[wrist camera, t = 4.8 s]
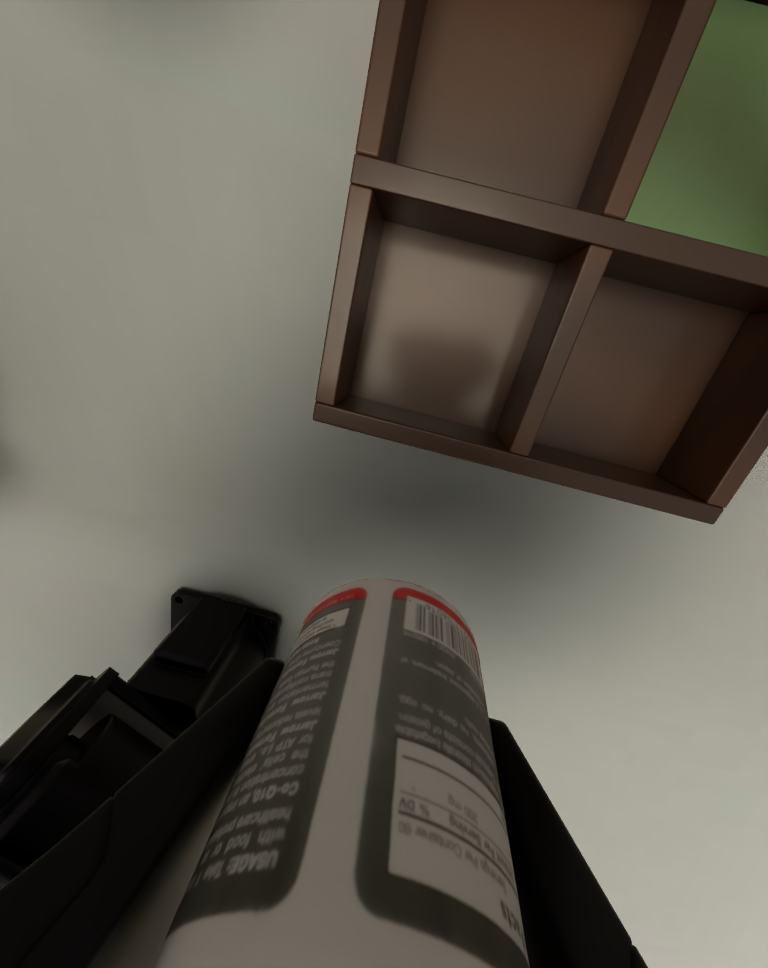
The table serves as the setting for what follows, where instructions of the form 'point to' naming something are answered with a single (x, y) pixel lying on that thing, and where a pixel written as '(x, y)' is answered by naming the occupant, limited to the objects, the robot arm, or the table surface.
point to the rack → (562, 244)
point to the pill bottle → (362, 806)
